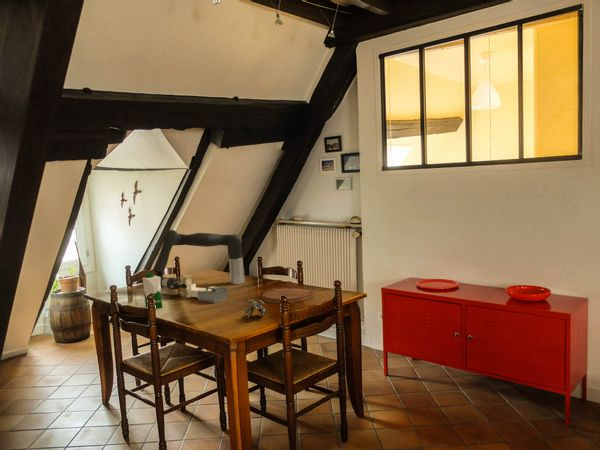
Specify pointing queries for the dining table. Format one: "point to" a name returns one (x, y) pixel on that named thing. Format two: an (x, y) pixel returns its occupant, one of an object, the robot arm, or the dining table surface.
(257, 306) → the passion flower
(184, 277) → the beech block
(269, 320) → the dining table surface
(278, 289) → the cutting board
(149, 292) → the milk carton
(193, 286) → the gauge plunger
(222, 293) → the gauge housing
